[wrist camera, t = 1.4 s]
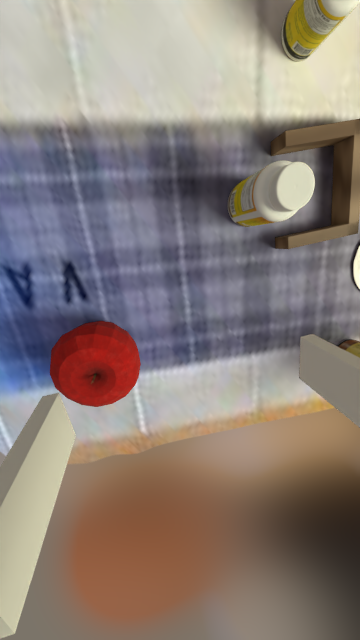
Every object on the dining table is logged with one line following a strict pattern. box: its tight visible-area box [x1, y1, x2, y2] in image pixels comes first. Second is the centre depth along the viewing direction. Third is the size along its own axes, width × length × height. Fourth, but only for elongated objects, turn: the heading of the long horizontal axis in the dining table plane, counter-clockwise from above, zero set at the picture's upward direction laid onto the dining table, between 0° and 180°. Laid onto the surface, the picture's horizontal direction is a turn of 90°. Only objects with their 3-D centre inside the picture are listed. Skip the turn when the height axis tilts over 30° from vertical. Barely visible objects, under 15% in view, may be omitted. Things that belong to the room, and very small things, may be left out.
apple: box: [50, 321, 140, 407], centre depth 28 cm, size 10×10×11 cm
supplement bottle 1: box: [228, 161, 315, 227], centre depth 26 cm, size 6×6×10 cm
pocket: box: [271, 119, 360, 249], centre depth 30 cm, size 13×10×3 cm
